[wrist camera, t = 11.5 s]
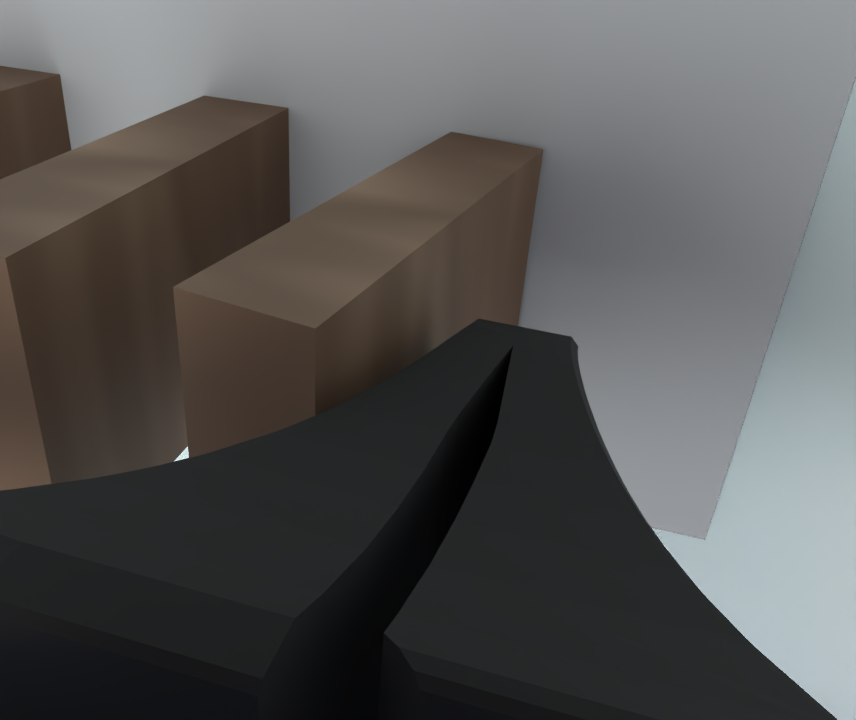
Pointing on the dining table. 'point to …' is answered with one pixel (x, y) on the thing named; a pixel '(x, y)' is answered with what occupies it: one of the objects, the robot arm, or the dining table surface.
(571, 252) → the mat
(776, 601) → the dining table surface
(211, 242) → the walnut tile
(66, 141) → the walnut tile
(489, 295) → the walnut tile
